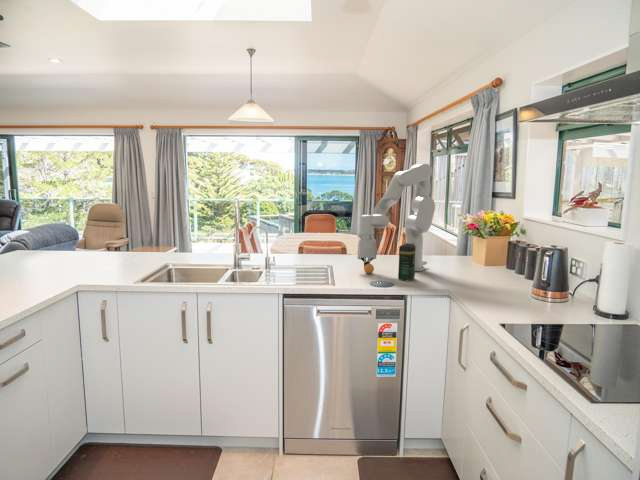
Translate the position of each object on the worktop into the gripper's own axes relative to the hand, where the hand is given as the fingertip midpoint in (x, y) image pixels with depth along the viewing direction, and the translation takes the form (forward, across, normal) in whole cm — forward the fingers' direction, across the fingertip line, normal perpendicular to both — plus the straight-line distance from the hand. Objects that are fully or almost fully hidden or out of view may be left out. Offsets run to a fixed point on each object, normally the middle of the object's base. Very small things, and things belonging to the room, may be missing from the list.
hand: (366, 269), depth 230 cm
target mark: (+2, +1, -29) cm, 29 cm away
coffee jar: (+2, +17, -20) cm, 26 cm away
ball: (-1, 0, -4) cm, 4 cm away
